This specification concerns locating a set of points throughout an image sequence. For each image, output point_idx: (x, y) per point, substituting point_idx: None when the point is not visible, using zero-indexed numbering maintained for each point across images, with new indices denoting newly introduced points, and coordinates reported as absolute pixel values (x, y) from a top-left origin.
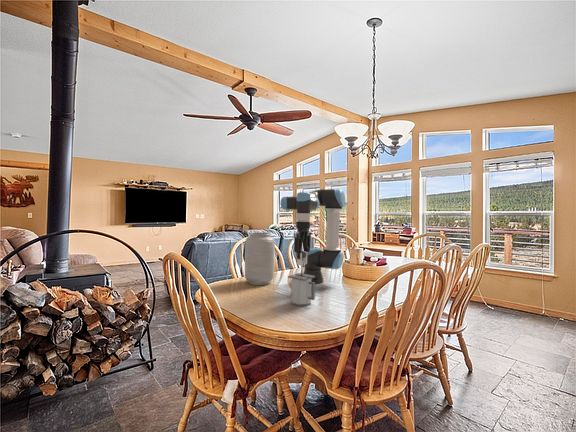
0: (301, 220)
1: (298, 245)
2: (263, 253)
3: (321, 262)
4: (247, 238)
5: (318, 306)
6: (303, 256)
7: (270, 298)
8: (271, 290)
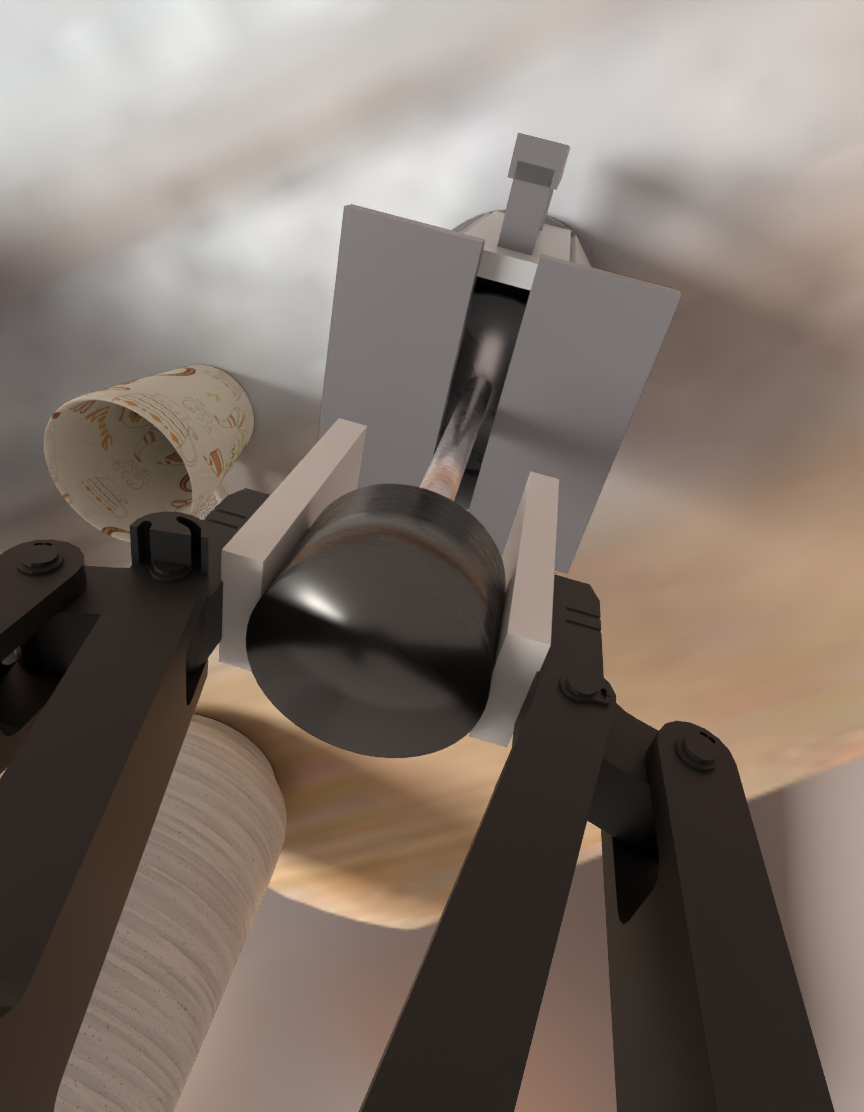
0: None
1: (749, 964)
2: (125, 985)
3: None
4: None
5: (529, 86)
6: (476, 541)
7: None
8: None
